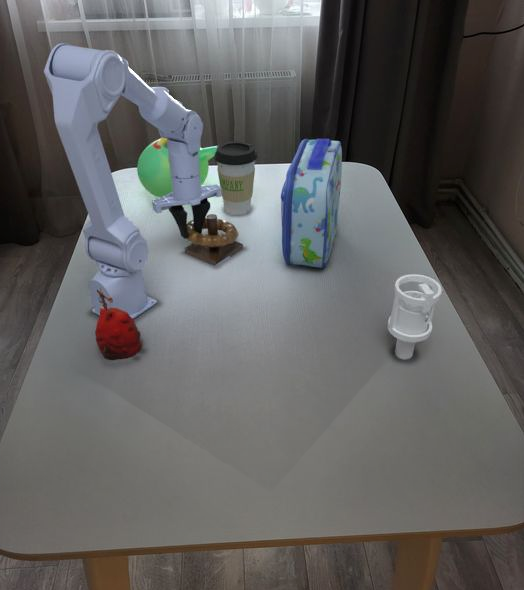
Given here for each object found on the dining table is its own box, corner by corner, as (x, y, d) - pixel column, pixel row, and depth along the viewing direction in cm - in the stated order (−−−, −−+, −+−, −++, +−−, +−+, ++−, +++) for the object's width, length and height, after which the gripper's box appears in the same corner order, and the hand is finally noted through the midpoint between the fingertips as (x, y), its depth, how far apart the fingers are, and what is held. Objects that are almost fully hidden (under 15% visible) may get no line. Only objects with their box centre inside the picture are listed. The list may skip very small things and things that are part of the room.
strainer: (393, 370, 92) (409, 297, 82) (376, 344, 97) (388, 271, 87) (432, 363, 94) (451, 289, 84) (412, 337, 99) (429, 265, 89)
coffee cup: (211, 204, 137) (207, 144, 127) (247, 197, 140) (246, 137, 130) (226, 222, 130) (223, 159, 120) (264, 214, 133) (264, 152, 124)
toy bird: (180, 174, 150) (174, 118, 141) (226, 192, 142) (223, 134, 133) (128, 197, 140) (118, 139, 130) (175, 218, 132) (168, 157, 122)
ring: (228, 253, 115) (229, 242, 114) (175, 242, 116) (175, 232, 115) (243, 232, 124) (244, 222, 123) (194, 222, 126) (194, 212, 124)
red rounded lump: (150, 344, 97) (137, 272, 87) (130, 371, 92) (114, 297, 82) (112, 335, 99) (95, 263, 89) (90, 360, 94) (70, 287, 84)
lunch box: (295, 213, 133) (298, 125, 120) (339, 218, 132) (348, 128, 118) (275, 273, 114) (276, 175, 100) (327, 278, 113) (336, 180, 99)
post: (216, 266, 116) (214, 231, 111) (184, 253, 120) (181, 218, 115) (243, 248, 121) (242, 214, 116) (212, 236, 126) (209, 202, 120)
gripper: (159, 189, 103) (167, 252, 112) (227, 172, 109) (230, 233, 118) (144, 175, 108) (153, 237, 117) (211, 159, 113) (214, 220, 122)
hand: (191, 234), depth 117 cm, fingers closed on ring, 3 cm apart
